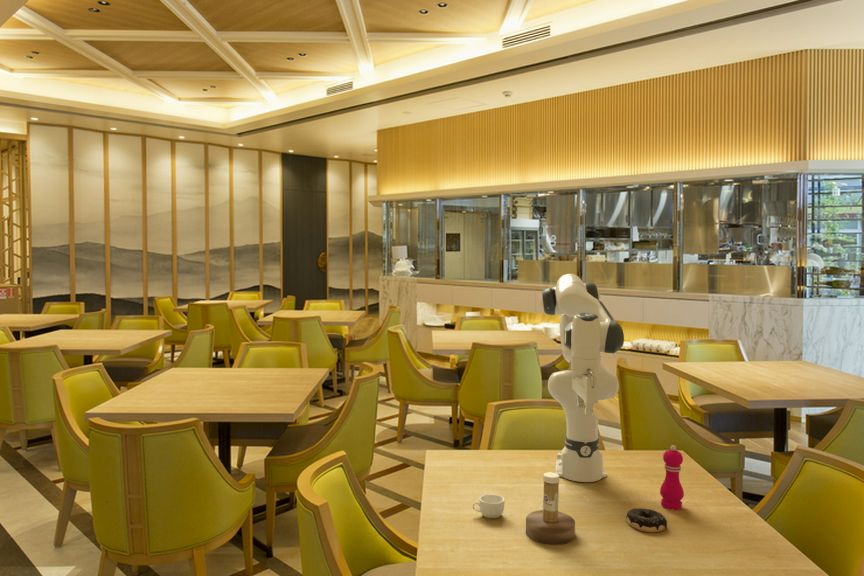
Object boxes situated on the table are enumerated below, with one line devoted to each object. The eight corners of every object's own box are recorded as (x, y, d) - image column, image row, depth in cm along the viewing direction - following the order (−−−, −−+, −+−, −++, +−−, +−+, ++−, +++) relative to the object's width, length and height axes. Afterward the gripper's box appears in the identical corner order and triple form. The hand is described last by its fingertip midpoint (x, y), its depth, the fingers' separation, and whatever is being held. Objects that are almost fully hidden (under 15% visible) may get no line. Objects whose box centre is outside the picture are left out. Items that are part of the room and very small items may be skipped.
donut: (647, 537, 182) (647, 523, 182) (617, 521, 193) (618, 508, 193) (674, 529, 188) (674, 516, 187) (644, 515, 198) (644, 502, 198)
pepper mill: (685, 511, 200) (687, 449, 199) (661, 509, 202) (663, 448, 200) (681, 502, 207) (683, 442, 206) (658, 500, 209) (659, 441, 208)
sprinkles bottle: (539, 520, 183) (540, 474, 183) (547, 515, 187) (548, 470, 186) (553, 524, 180) (554, 478, 180) (561, 519, 184) (562, 474, 183)
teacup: (500, 510, 200) (501, 493, 200) (507, 520, 193) (507, 502, 192) (469, 511, 199) (470, 494, 199) (474, 521, 191) (475, 504, 191)
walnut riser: (522, 522, 191) (522, 509, 191) (569, 523, 191) (569, 510, 190) (529, 544, 177) (529, 530, 177) (579, 544, 177) (579, 530, 176)
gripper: (604, 373, 183) (603, 420, 183) (587, 360, 203) (586, 403, 204) (583, 372, 183) (581, 420, 183) (568, 360, 203) (567, 403, 204)
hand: (584, 411), depth 194 cm, fingers open, 8 cm apart
